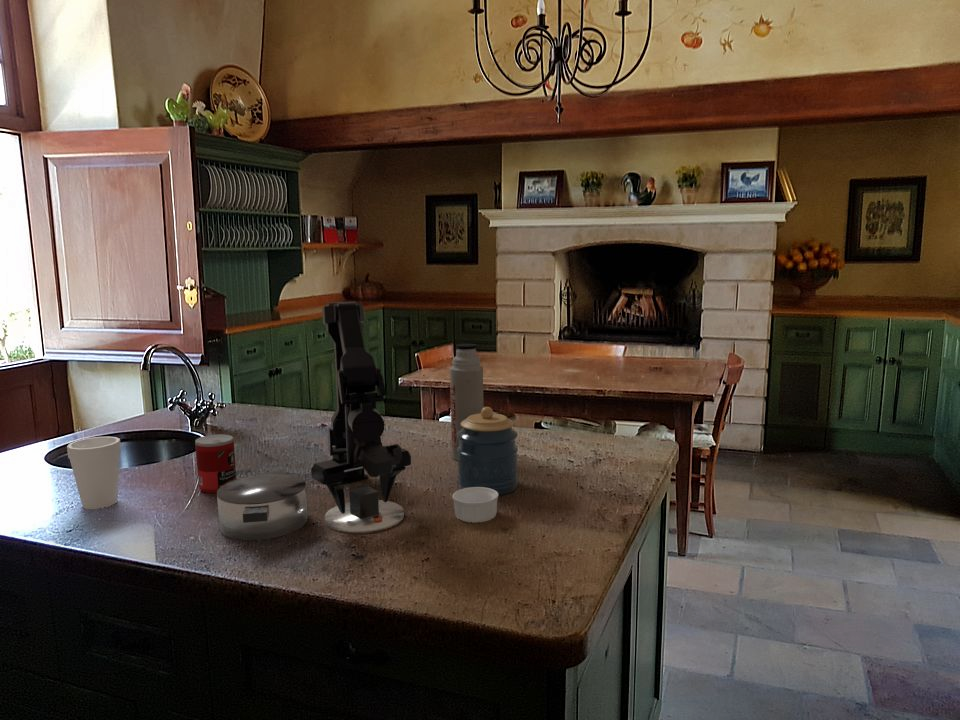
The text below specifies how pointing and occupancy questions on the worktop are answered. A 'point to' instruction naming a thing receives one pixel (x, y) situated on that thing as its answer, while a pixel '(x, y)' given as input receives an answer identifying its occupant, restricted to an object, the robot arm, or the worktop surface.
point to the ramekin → (475, 504)
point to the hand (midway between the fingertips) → (364, 507)
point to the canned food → (215, 461)
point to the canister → (487, 452)
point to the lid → (364, 513)
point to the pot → (262, 506)
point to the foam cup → (96, 470)
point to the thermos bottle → (464, 389)
